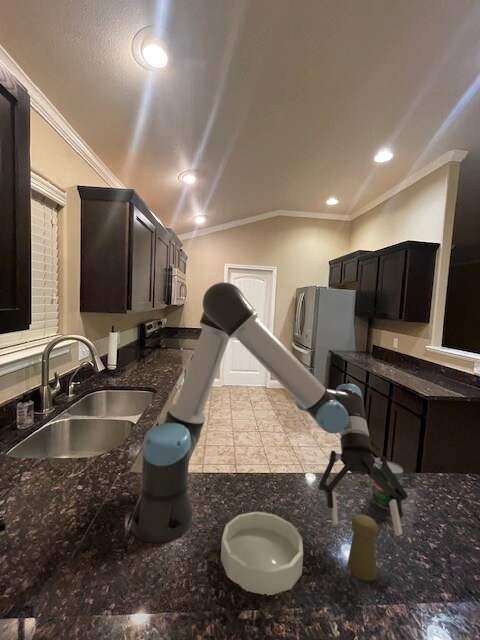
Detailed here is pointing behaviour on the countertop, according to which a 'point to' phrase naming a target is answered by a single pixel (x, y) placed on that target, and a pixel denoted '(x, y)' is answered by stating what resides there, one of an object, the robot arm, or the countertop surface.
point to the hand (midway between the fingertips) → (366, 529)
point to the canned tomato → (378, 493)
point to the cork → (363, 548)
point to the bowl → (262, 553)
